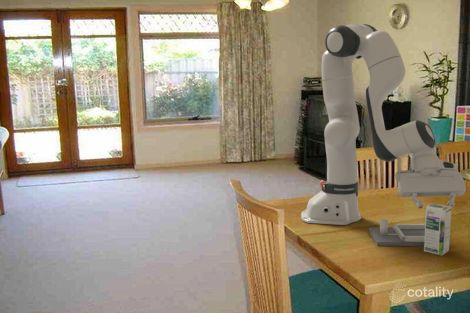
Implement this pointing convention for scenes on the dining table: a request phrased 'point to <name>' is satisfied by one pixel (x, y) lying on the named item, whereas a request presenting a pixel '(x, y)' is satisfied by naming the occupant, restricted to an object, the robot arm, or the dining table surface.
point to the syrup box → (437, 229)
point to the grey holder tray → (398, 234)
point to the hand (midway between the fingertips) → (435, 207)
